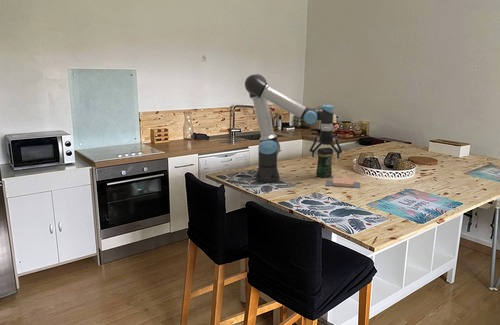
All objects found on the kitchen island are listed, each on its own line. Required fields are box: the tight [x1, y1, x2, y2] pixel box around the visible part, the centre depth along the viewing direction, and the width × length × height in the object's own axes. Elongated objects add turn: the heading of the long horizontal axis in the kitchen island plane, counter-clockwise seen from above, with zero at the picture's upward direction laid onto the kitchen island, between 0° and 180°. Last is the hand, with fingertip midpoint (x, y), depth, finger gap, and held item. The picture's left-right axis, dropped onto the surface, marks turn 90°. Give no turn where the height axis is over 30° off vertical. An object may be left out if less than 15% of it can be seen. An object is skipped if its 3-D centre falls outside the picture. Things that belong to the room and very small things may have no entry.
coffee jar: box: [315, 147, 334, 178], centre depth 243 cm, size 10×8×19 cm
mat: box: [325, 179, 361, 189], centre depth 228 cm, size 20×11×1 cm, turn 76°
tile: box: [332, 176, 354, 188], centre depth 228 cm, size 12×2×12 cm
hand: (325, 162), depth 243 cm, fingers open, 13 cm apart
